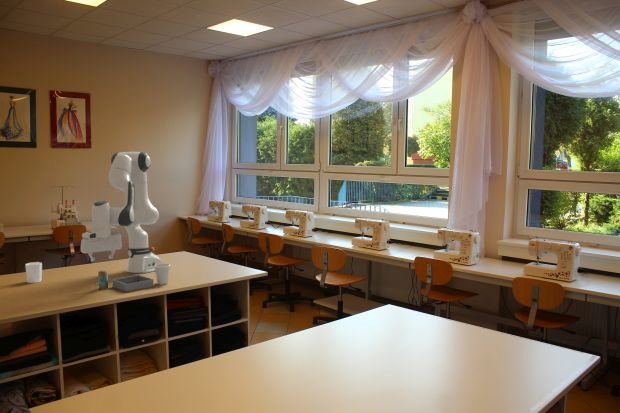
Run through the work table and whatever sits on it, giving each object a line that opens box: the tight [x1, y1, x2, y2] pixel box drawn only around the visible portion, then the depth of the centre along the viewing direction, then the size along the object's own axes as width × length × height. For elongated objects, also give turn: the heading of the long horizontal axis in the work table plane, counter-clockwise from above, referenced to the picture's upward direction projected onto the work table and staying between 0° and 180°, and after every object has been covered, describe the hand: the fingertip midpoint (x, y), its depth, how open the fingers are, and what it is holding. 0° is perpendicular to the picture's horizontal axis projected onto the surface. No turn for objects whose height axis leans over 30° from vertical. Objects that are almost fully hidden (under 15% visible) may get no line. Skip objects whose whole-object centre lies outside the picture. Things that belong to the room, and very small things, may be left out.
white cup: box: [24, 261, 43, 284], centre depth 272 cm, size 8×8×10 cm
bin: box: [111, 274, 154, 293], centre depth 261 cm, size 15×15×4 cm
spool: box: [97, 270, 109, 291], centre depth 257 cm, size 4×4×9 cm
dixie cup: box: [154, 263, 171, 285], centre depth 269 cm, size 8×8×10 cm
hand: (102, 260), depth 256 cm, fingers open, 8 cm apart
